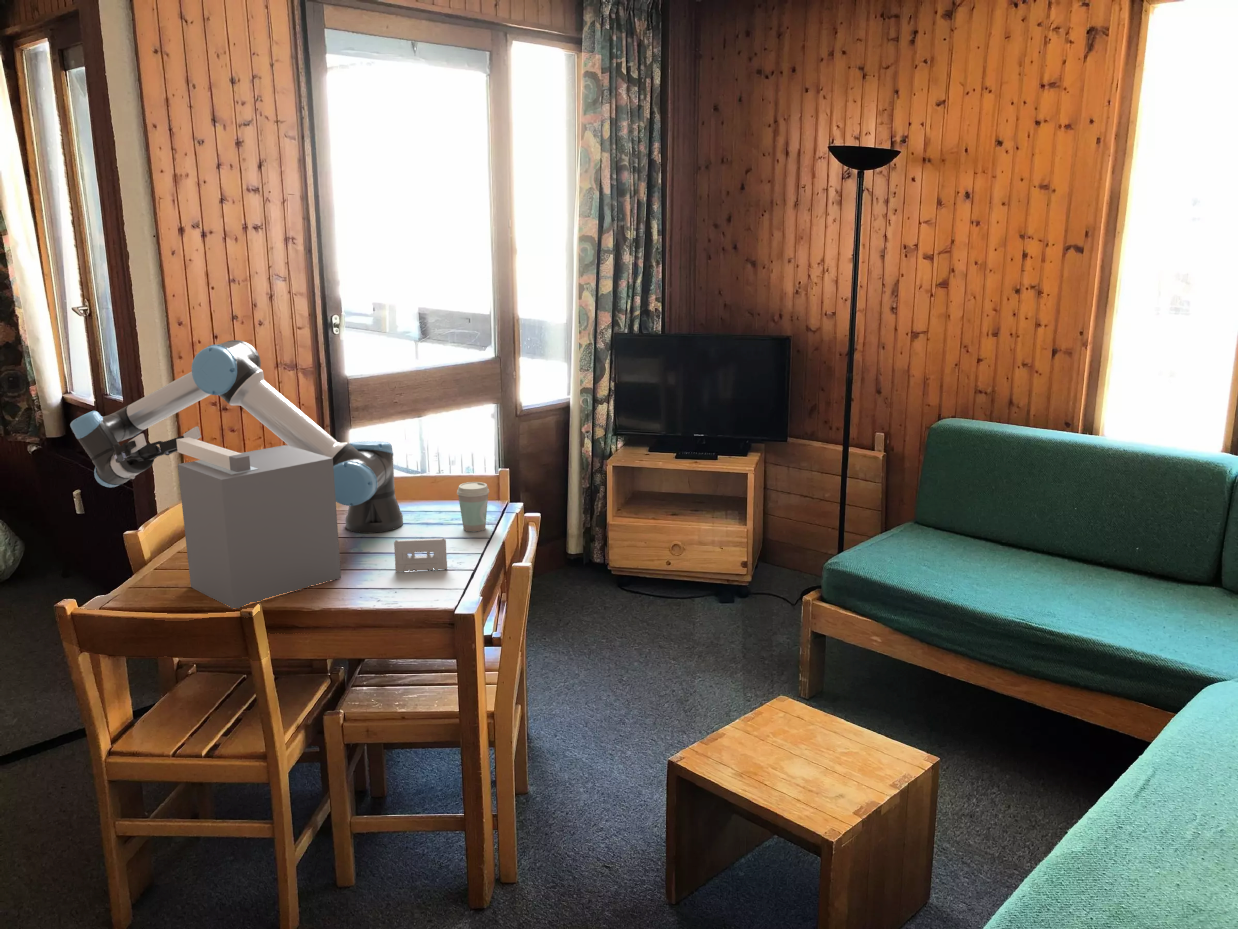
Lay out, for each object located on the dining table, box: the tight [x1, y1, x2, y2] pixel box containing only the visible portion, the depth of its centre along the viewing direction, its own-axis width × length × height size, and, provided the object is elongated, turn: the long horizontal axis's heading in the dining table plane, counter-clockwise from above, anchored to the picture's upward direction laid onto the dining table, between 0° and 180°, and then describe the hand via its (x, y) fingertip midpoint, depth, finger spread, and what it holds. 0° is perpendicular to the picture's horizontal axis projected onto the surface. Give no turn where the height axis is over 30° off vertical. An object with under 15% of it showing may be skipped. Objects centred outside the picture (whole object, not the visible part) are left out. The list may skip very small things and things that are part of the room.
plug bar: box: [176, 437, 251, 472], centre depth 220 cm, size 28×3×3 cm, turn 48°
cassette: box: [393, 538, 448, 572], centre depth 235 cm, size 12×2×8 cm, turn 97°
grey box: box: [177, 444, 342, 609], centre depth 224 cm, size 20×26×29 cm
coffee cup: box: [456, 481, 490, 532], centre depth 266 cm, size 9×8×12 cm
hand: (171, 435), depth 237 cm, fingers open, 13 cm apart
